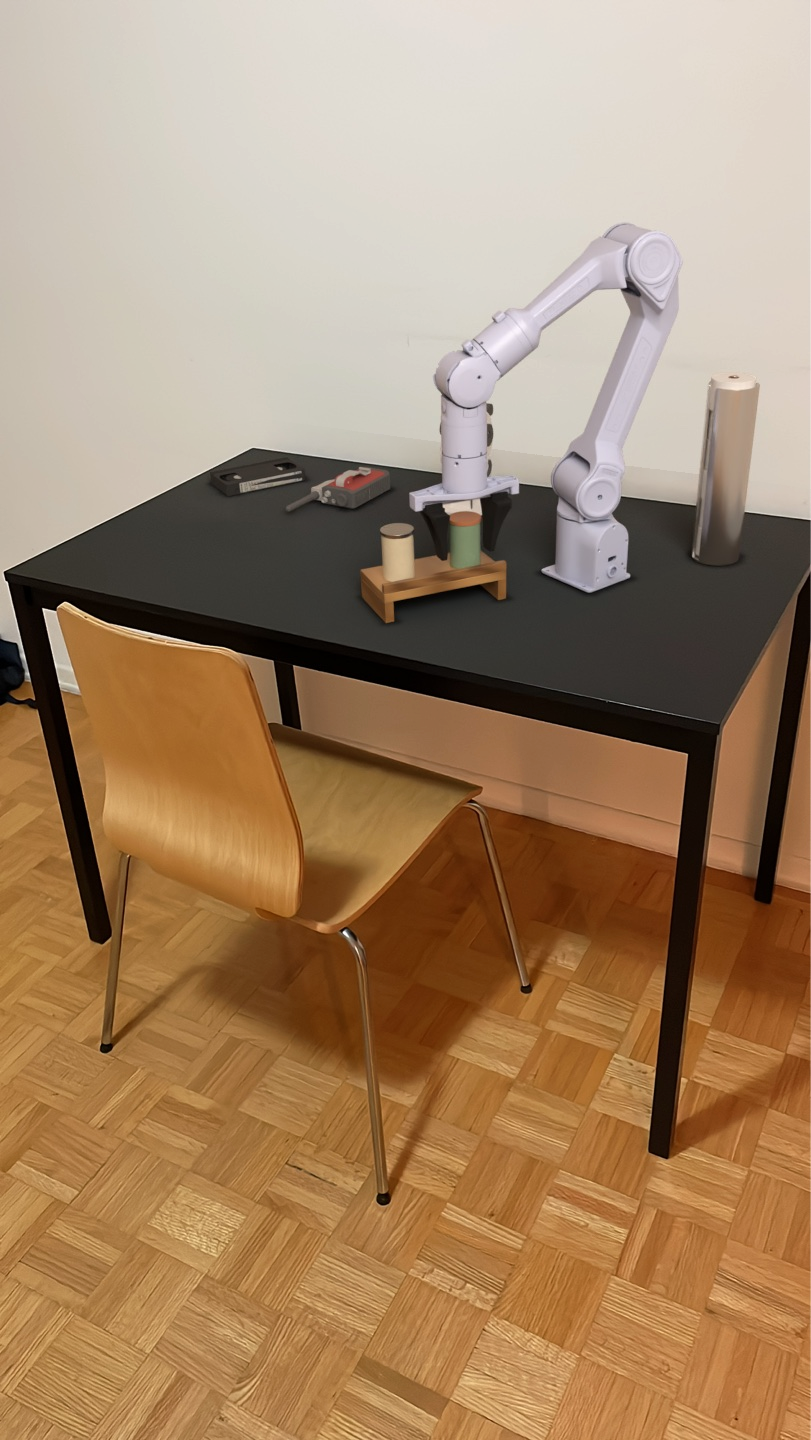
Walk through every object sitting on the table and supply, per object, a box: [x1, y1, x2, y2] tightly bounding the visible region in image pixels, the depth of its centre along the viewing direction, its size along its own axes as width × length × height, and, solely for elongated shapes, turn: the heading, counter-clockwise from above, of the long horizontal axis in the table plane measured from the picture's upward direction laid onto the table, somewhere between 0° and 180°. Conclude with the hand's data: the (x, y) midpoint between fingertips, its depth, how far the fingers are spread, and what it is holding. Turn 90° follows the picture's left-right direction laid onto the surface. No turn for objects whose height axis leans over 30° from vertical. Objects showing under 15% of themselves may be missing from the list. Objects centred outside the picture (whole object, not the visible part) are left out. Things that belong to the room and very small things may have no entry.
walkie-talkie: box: [285, 466, 391, 513], centre depth 183 cm, size 9×4×20 cm
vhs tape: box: [209, 457, 306, 497], centre depth 194 cm, size 14×8×2 cm, turn 119°
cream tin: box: [379, 522, 415, 582], centre depth 145 cm, size 4×4×6 cm
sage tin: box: [448, 511, 482, 569], centre depth 148 cm, size 4×4×6 cm
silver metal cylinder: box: [690, 371, 761, 567], centre depth 152 cm, size 6×6×25 cm
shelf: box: [359, 550, 507, 624], centre depth 149 cm, size 17×9×5 cm, turn 112°
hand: (465, 553), depth 149 cm, fingers open, 6 cm apart
